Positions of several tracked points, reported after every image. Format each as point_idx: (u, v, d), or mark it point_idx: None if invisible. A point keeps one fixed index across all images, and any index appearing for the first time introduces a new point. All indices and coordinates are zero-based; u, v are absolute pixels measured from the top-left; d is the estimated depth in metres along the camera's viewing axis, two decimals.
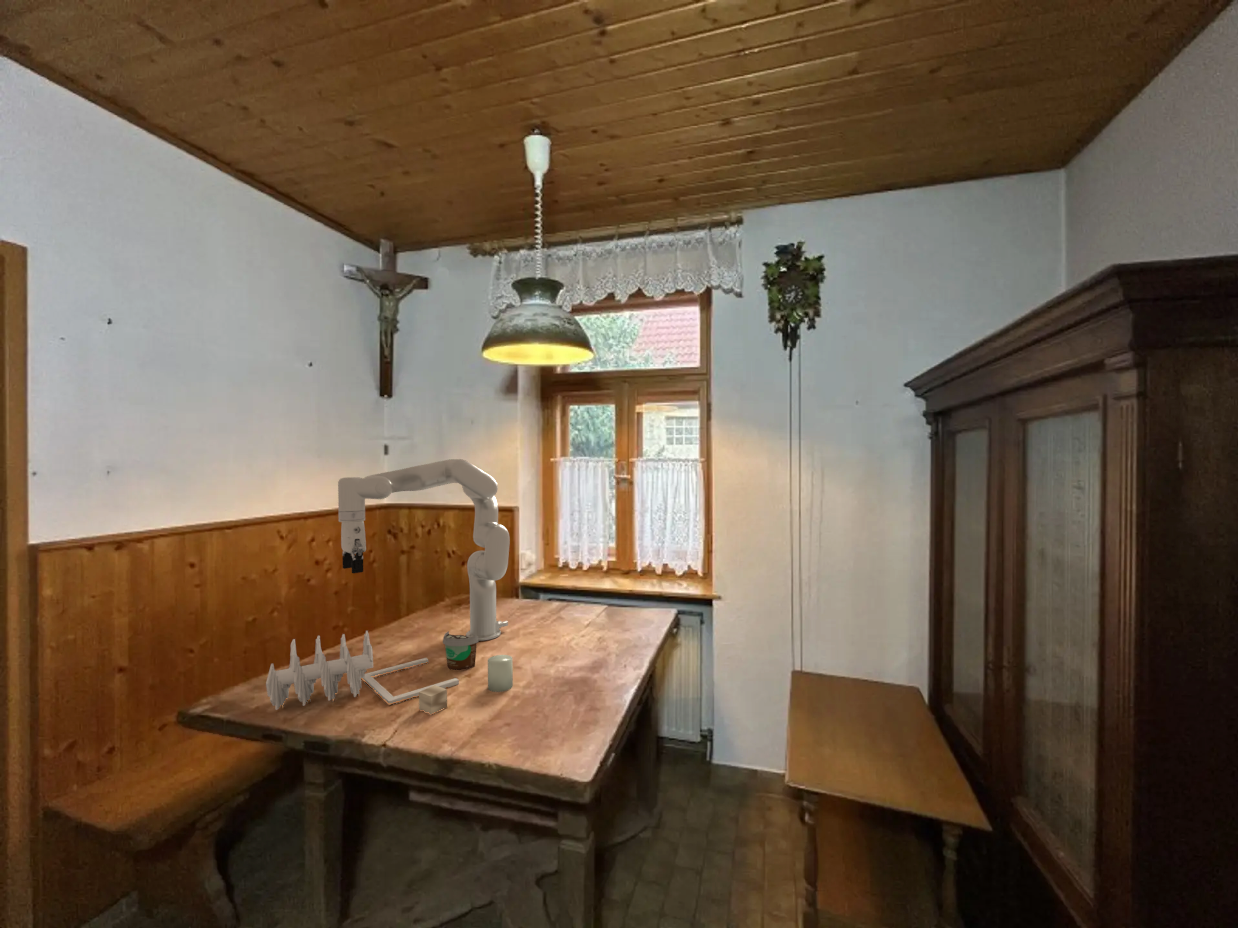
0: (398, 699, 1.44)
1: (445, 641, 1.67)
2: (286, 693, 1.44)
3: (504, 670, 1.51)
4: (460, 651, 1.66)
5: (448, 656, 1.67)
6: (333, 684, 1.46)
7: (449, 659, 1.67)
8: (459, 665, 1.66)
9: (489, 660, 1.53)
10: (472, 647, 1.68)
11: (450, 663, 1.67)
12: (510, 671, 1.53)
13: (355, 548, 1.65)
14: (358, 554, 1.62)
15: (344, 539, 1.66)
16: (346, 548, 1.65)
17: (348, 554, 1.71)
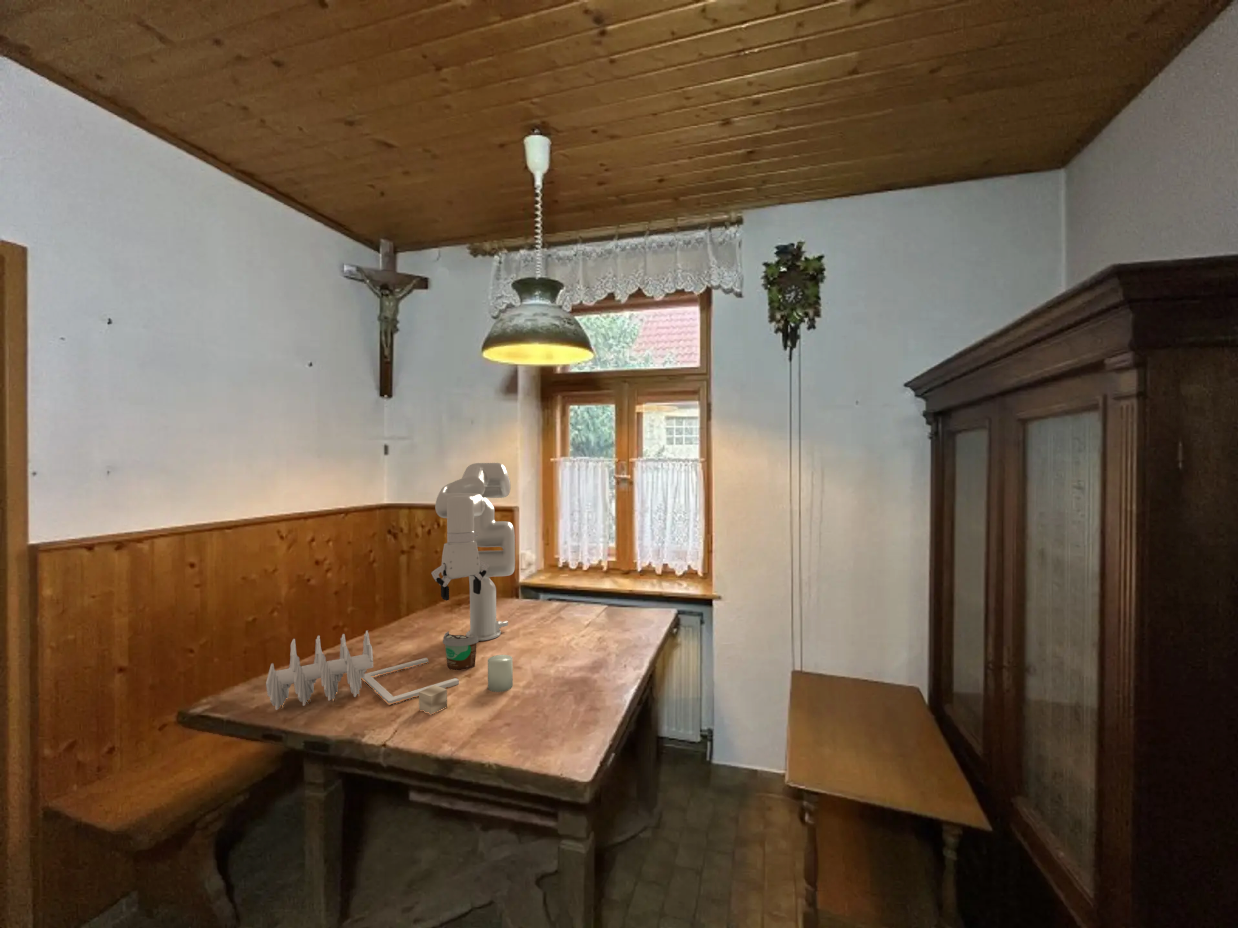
0: (398, 699, 1.44)
1: (445, 641, 1.67)
2: (286, 693, 1.44)
3: (504, 670, 1.51)
4: (460, 651, 1.66)
5: (448, 656, 1.67)
6: (333, 684, 1.46)
7: (449, 659, 1.67)
8: (459, 665, 1.66)
9: (489, 660, 1.53)
10: (472, 647, 1.68)
11: (450, 663, 1.67)
12: (510, 671, 1.53)
13: None
14: None
15: (466, 562, 1.53)
16: (469, 571, 1.54)
17: None
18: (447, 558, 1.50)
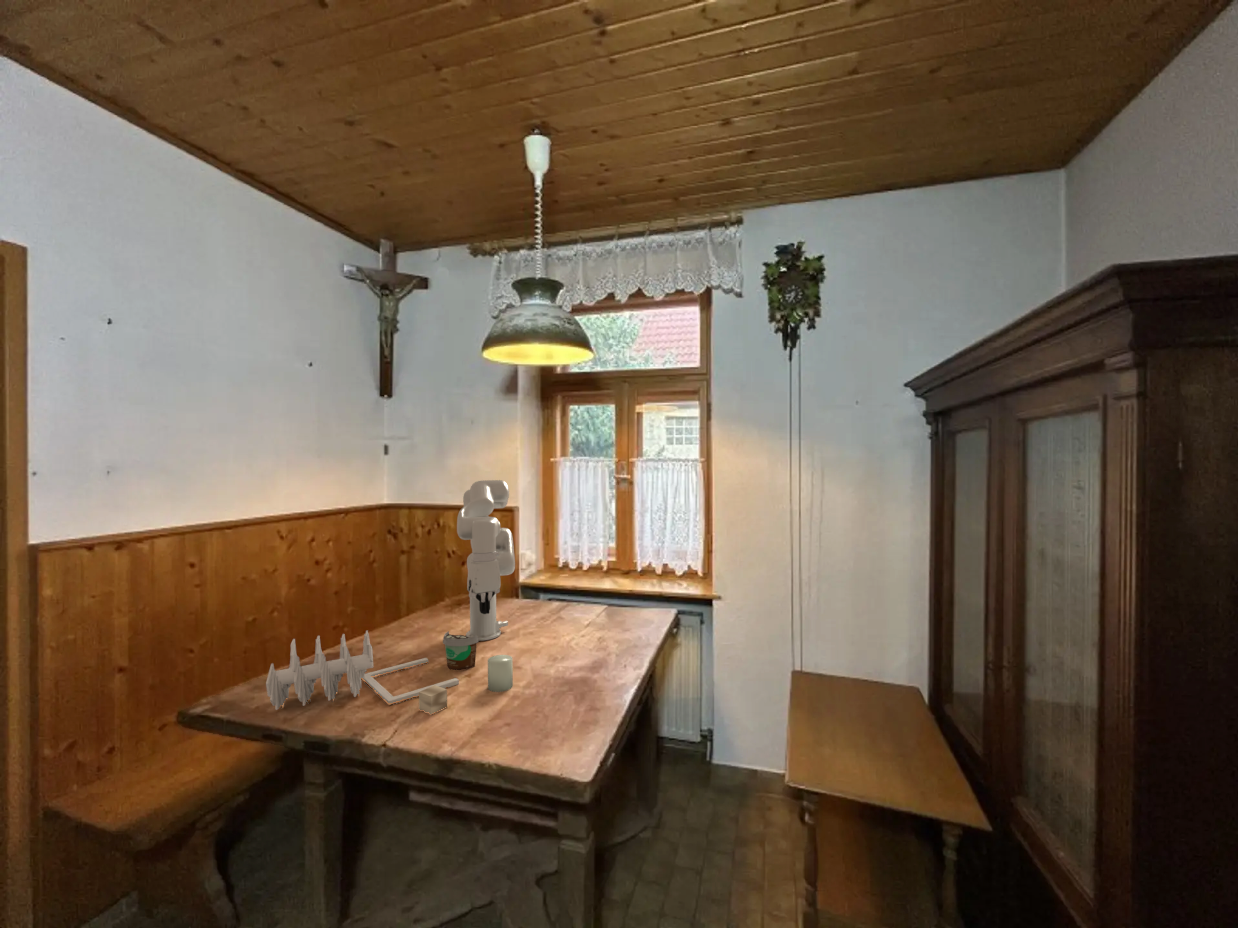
0: (398, 699, 1.44)
1: (445, 641, 1.67)
2: (286, 693, 1.44)
3: (504, 670, 1.51)
4: (460, 651, 1.66)
5: (448, 656, 1.67)
6: (333, 684, 1.46)
7: (449, 659, 1.67)
8: (459, 665, 1.66)
9: (489, 660, 1.53)
10: (472, 647, 1.68)
11: (450, 663, 1.67)
12: (510, 671, 1.53)
13: None
14: None
15: (489, 579, 1.73)
16: (492, 587, 1.74)
17: None
18: (473, 575, 1.70)
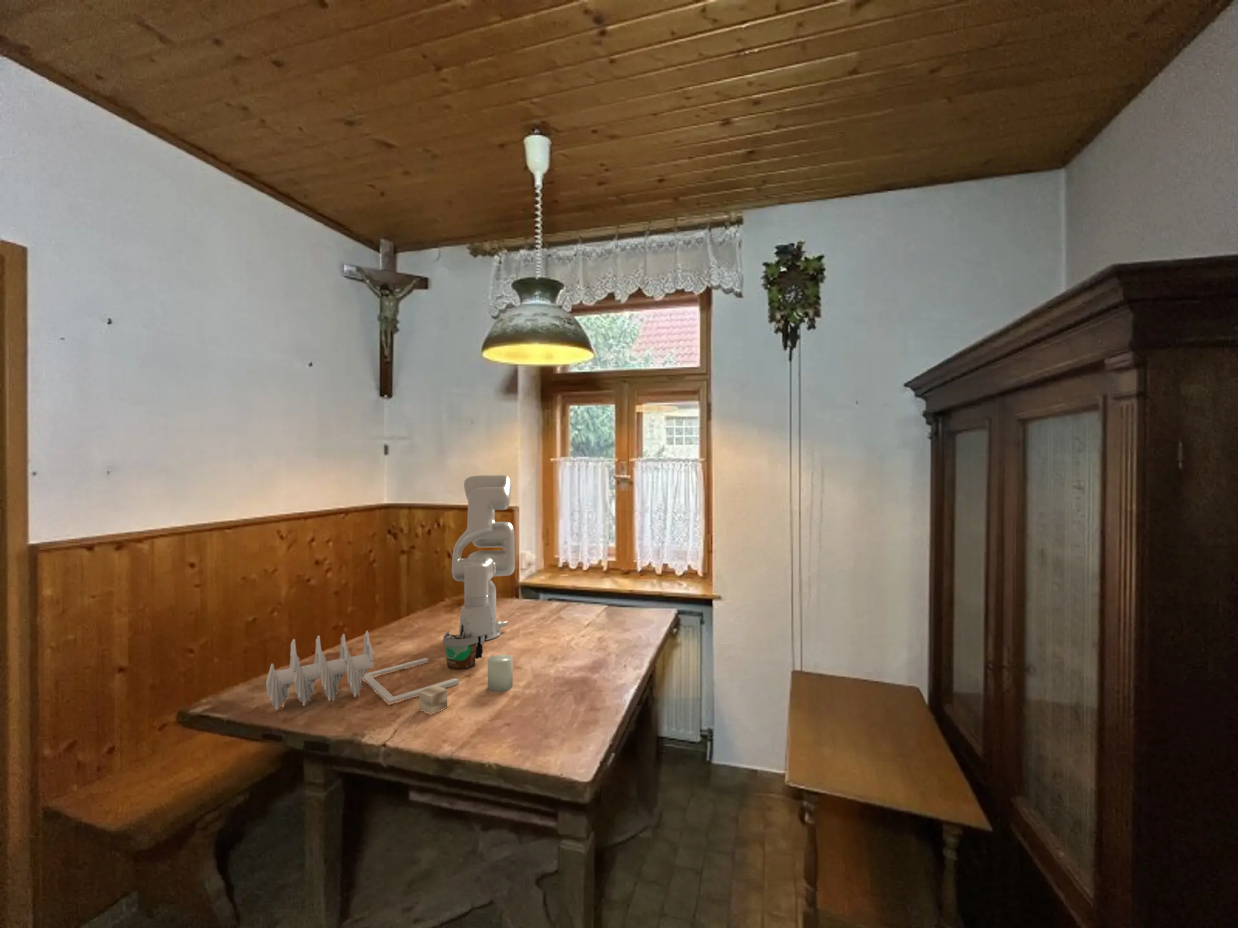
0: (398, 699, 1.44)
1: (445, 641, 1.67)
2: (286, 693, 1.44)
3: (504, 670, 1.51)
4: (460, 651, 1.66)
5: (448, 656, 1.67)
6: (333, 684, 1.46)
7: (449, 659, 1.67)
8: (459, 665, 1.66)
9: (489, 660, 1.53)
10: (472, 647, 1.68)
11: (450, 663, 1.67)
12: (510, 671, 1.53)
13: None
14: None
15: (481, 623, 1.71)
16: (484, 631, 1.72)
17: None
18: (465, 620, 1.69)
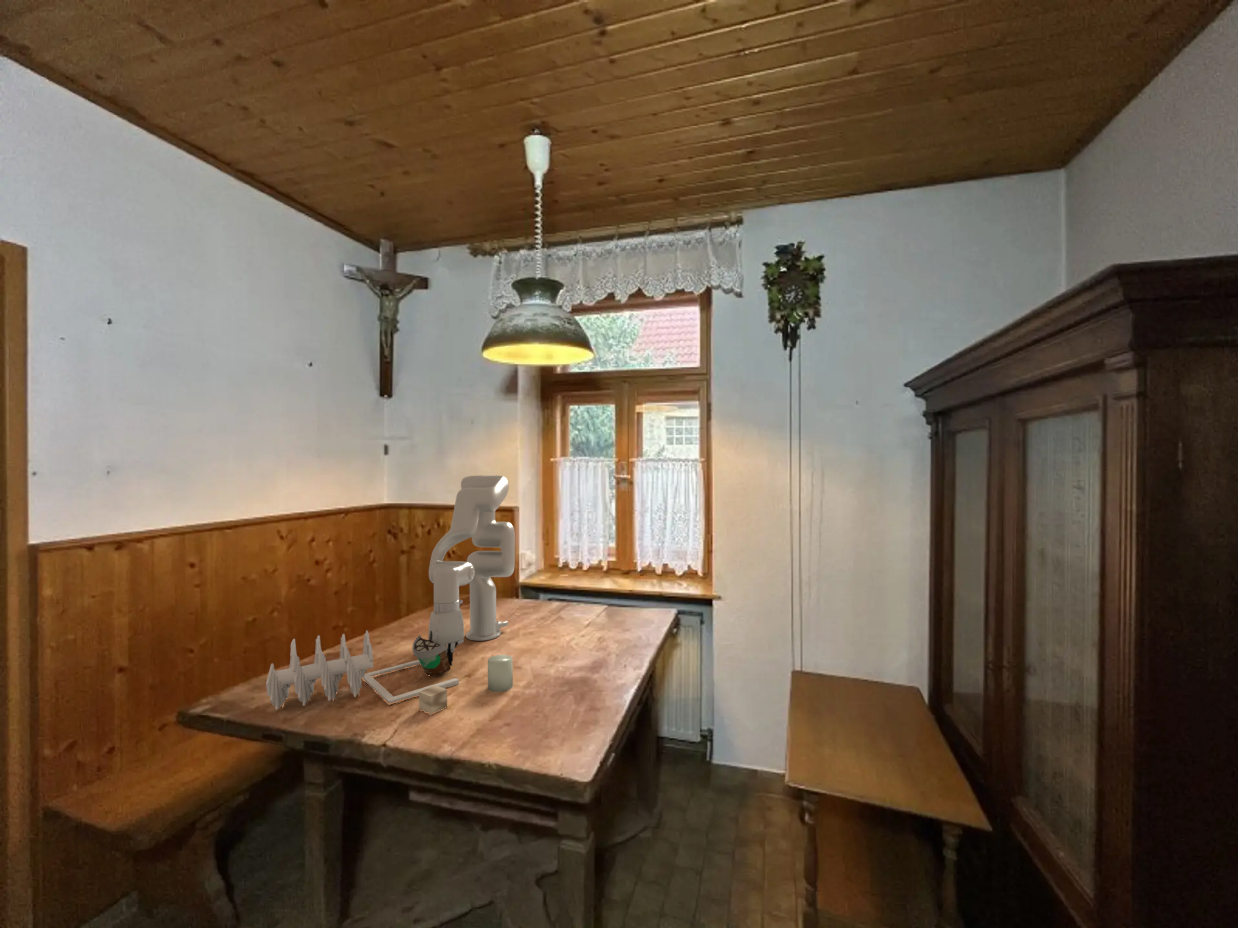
0: (398, 699, 1.44)
1: (413, 651, 1.60)
2: (286, 693, 1.44)
3: (504, 670, 1.51)
4: (429, 661, 1.59)
5: (421, 663, 1.62)
6: (333, 684, 1.46)
7: (422, 666, 1.62)
8: (432, 672, 1.61)
9: (489, 660, 1.53)
10: (441, 655, 1.60)
11: (424, 670, 1.62)
12: (510, 671, 1.53)
13: None
14: None
15: (452, 630, 1.64)
16: (454, 637, 1.65)
17: None
18: (434, 627, 1.61)
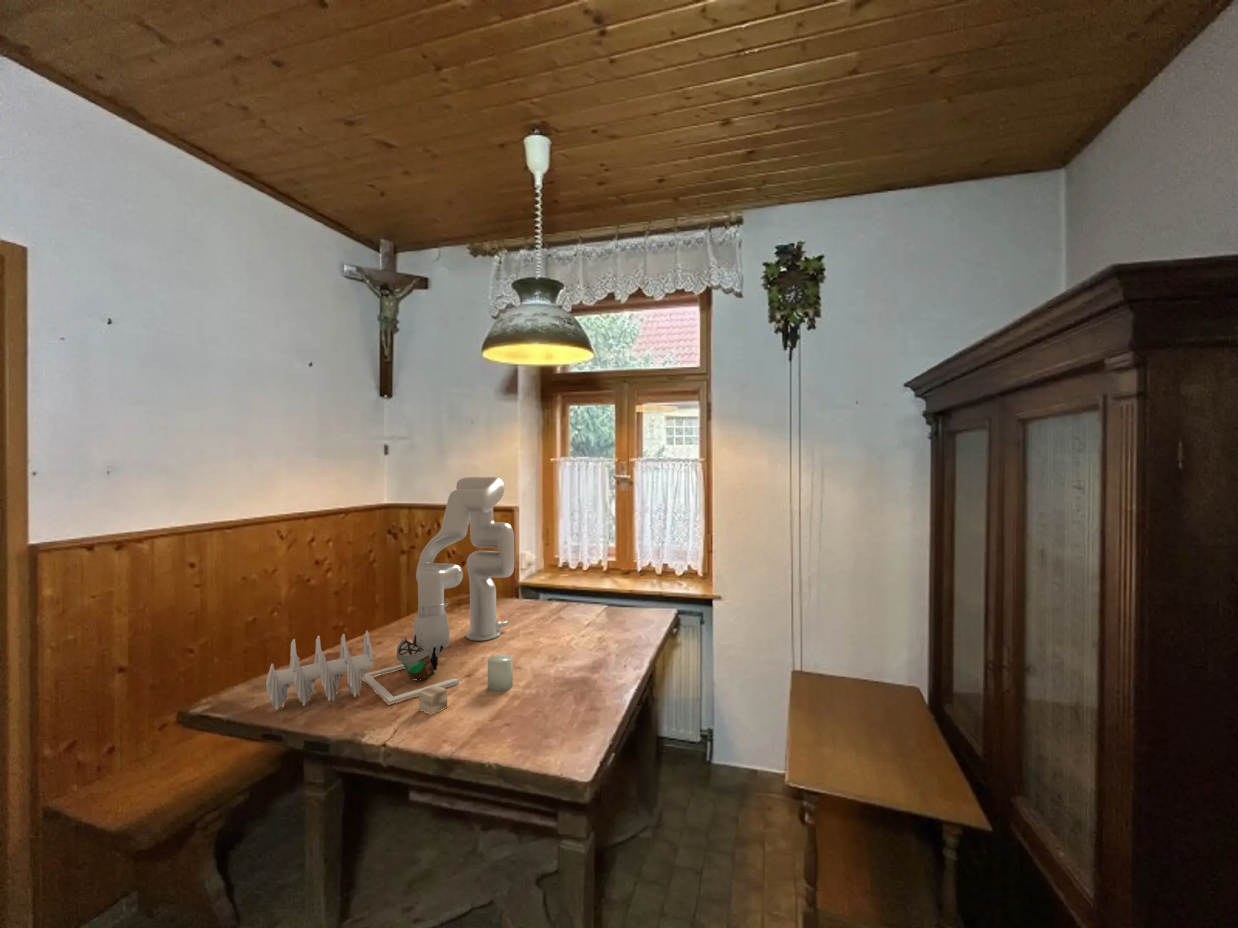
0: (398, 699, 1.44)
1: (397, 655, 1.57)
2: (286, 693, 1.44)
3: (504, 670, 1.51)
4: (412, 666, 1.56)
5: (405, 667, 1.59)
6: (333, 684, 1.46)
7: (406, 670, 1.59)
8: (415, 677, 1.58)
9: (489, 660, 1.53)
10: (424, 660, 1.56)
11: (408, 673, 1.59)
12: (510, 671, 1.53)
13: None
14: None
15: (436, 633, 1.61)
16: (439, 641, 1.62)
17: None
18: (418, 631, 1.58)
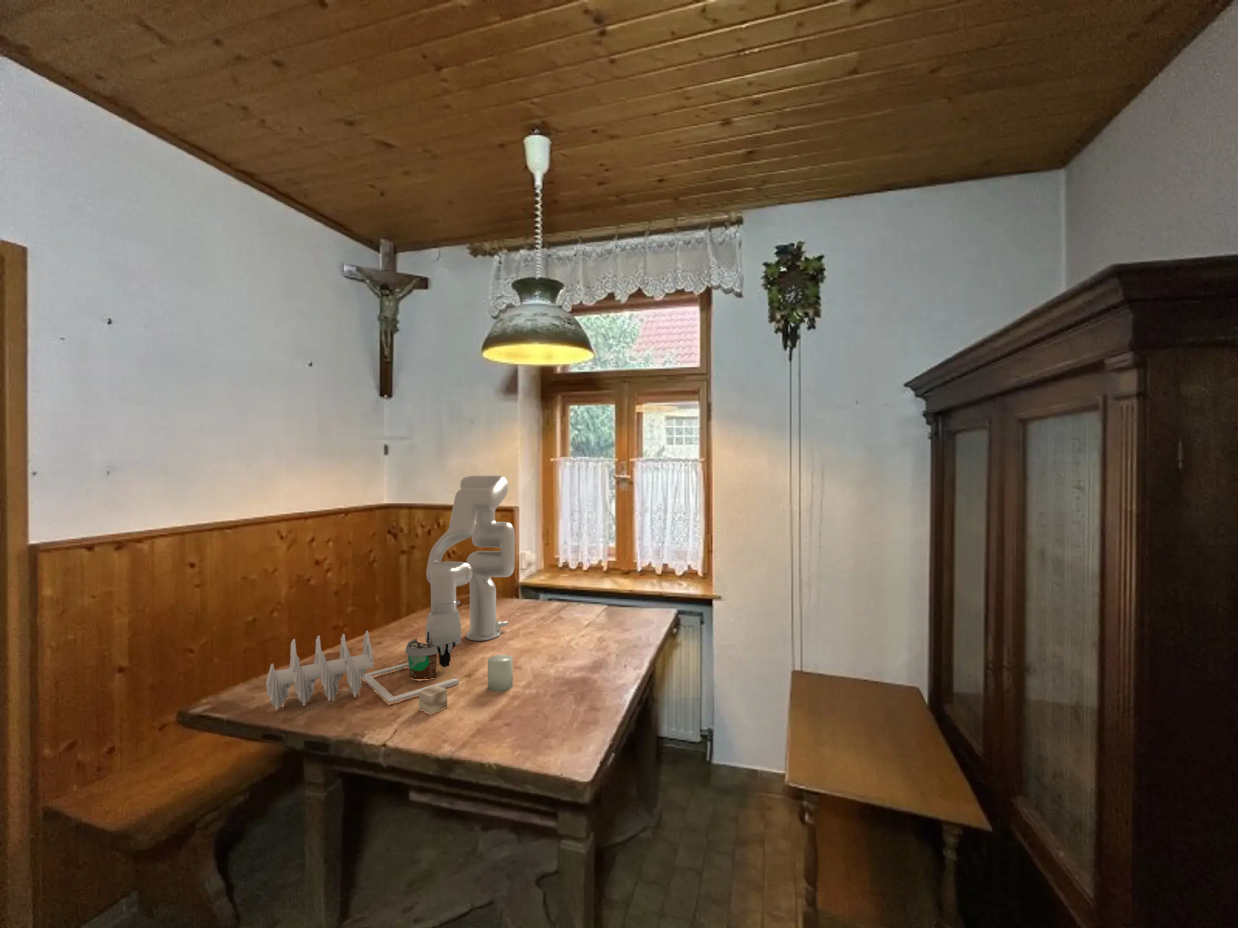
0: (398, 699, 1.44)
1: (406, 649, 1.60)
2: (286, 693, 1.44)
3: (504, 670, 1.51)
4: (418, 662, 1.58)
5: (409, 665, 1.60)
6: (333, 684, 1.46)
7: (409, 668, 1.60)
8: (417, 676, 1.58)
9: (489, 660, 1.53)
10: (431, 659, 1.59)
11: (410, 672, 1.60)
12: (510, 671, 1.53)
13: None
14: None
15: (449, 630, 1.64)
16: (452, 638, 1.65)
17: None
18: (430, 628, 1.61)
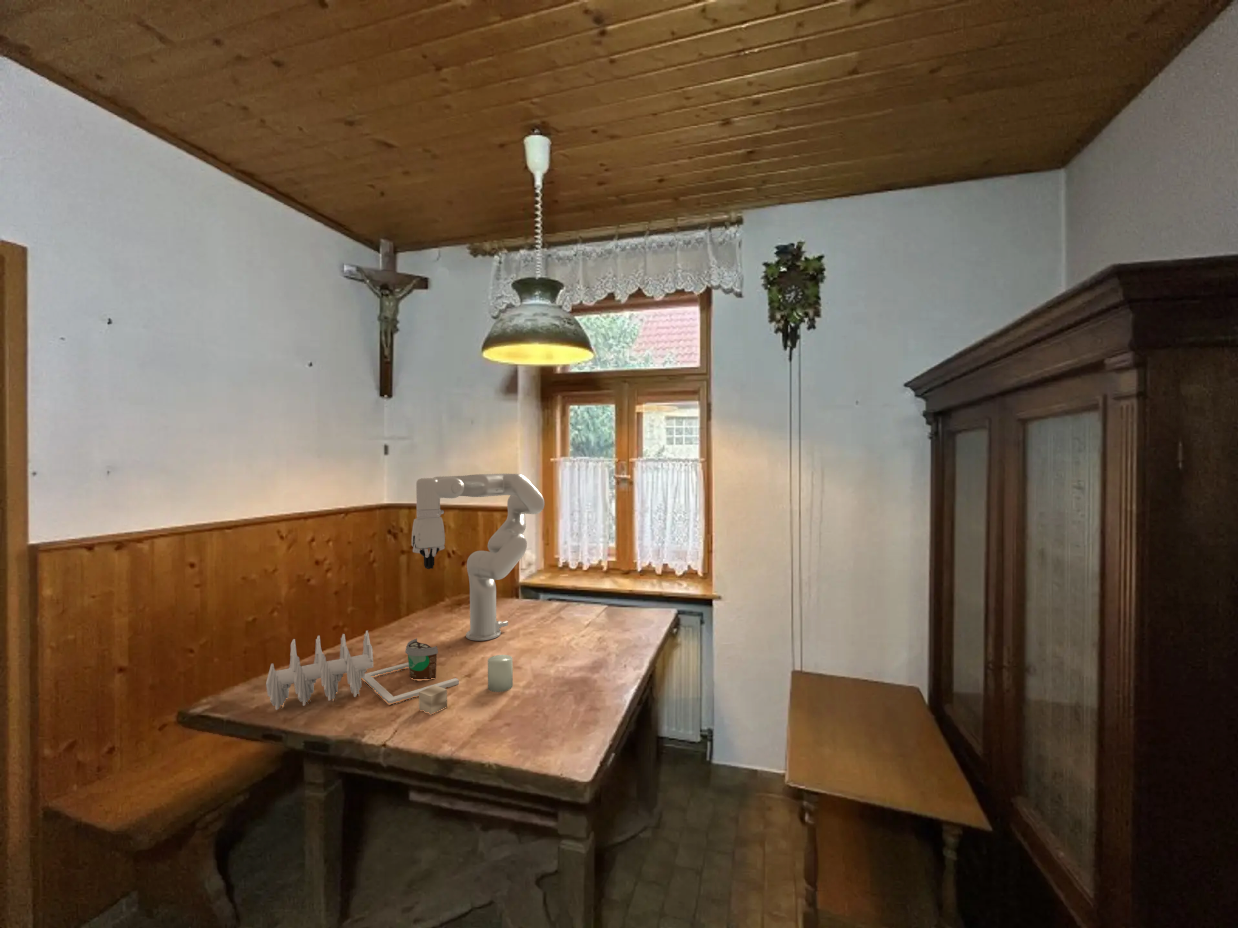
0: (398, 699, 1.44)
1: (406, 649, 1.60)
2: (286, 693, 1.44)
3: (504, 670, 1.51)
4: (418, 662, 1.58)
5: (409, 665, 1.60)
6: (333, 684, 1.46)
7: (409, 668, 1.60)
8: (417, 676, 1.58)
9: (489, 660, 1.53)
10: (431, 659, 1.59)
11: (410, 672, 1.60)
12: (510, 671, 1.53)
13: None
14: None
15: (433, 535, 1.79)
16: (436, 543, 1.80)
17: None
18: (416, 531, 1.76)
